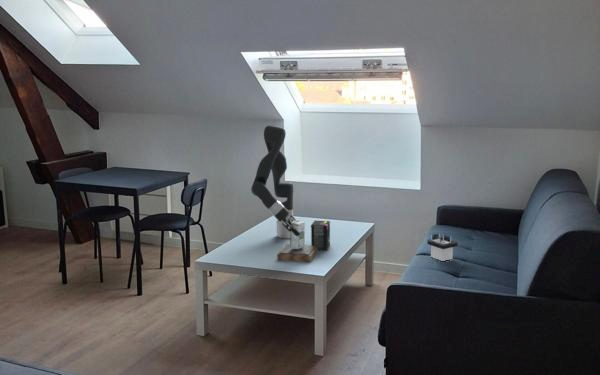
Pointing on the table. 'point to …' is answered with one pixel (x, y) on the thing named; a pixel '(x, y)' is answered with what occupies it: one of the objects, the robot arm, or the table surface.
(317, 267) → the table surface
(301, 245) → the syrup box
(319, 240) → the tampon box
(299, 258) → the brown wooden flat block
